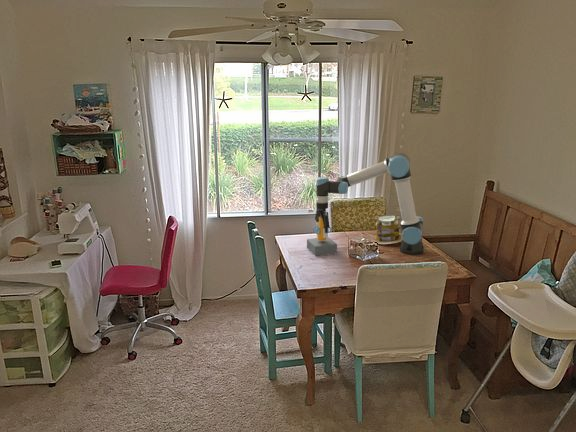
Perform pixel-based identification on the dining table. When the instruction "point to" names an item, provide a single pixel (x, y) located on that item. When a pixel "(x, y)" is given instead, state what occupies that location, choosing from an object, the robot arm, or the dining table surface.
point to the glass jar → (388, 230)
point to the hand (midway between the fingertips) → (321, 234)
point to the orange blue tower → (320, 230)
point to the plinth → (322, 246)
